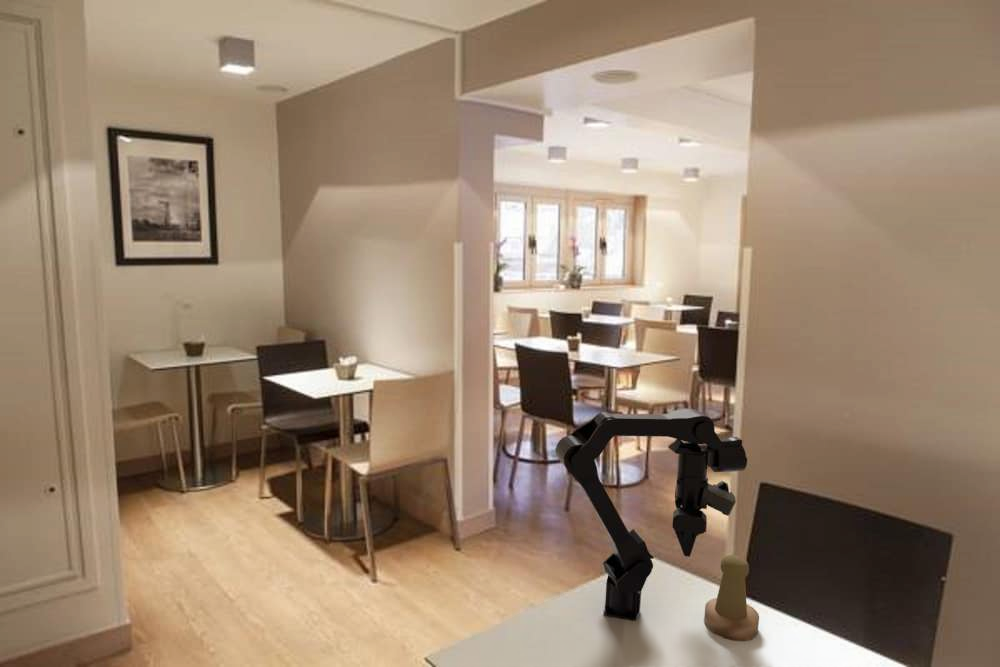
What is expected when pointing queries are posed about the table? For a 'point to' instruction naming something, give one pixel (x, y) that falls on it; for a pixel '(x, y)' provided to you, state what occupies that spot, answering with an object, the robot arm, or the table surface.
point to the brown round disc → (731, 623)
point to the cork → (732, 588)
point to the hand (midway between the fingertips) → (687, 545)
